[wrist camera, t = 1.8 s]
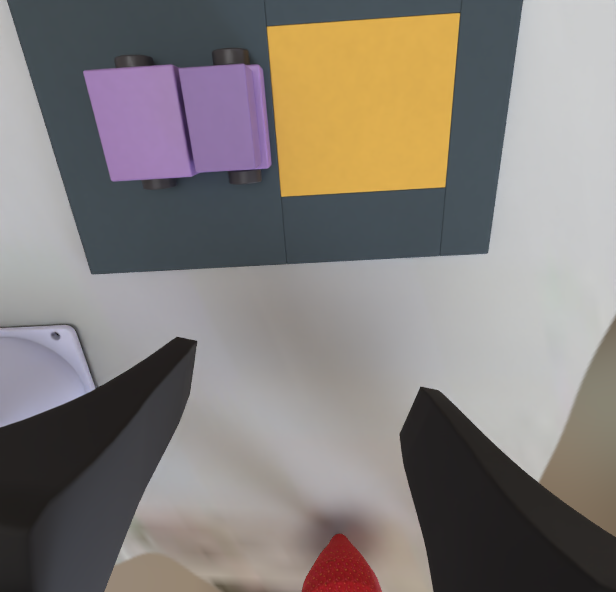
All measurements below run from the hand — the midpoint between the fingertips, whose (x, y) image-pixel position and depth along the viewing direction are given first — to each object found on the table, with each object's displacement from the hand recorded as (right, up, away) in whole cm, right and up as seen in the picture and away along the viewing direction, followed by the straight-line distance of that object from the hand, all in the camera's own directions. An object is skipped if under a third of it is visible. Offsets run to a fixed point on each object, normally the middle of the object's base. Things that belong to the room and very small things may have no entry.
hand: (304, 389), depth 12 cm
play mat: (-1, +11, +6) cm, 13 cm away
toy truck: (-5, +11, +5) cm, 13 cm away
